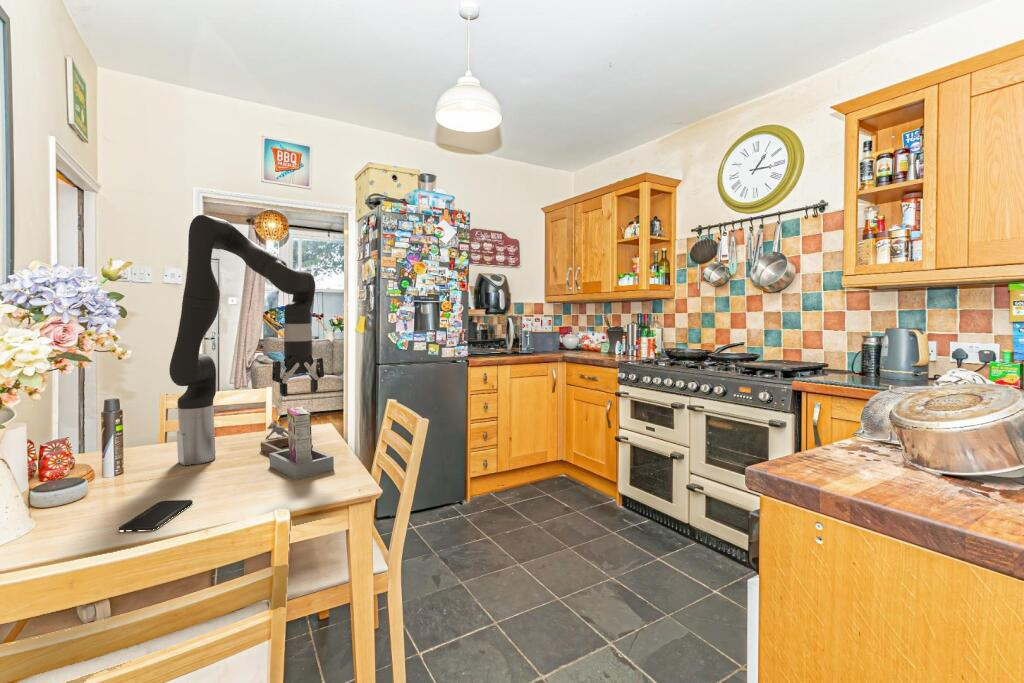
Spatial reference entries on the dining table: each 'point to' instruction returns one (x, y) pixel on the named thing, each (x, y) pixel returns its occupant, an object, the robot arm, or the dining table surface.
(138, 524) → the phone
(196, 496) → the dining table surface
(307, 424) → the candy bar box
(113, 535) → the dining table surface
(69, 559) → the dining table surface
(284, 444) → the walnut collar
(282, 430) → the elephant figurine
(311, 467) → the grey tray
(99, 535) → the dining table surface
